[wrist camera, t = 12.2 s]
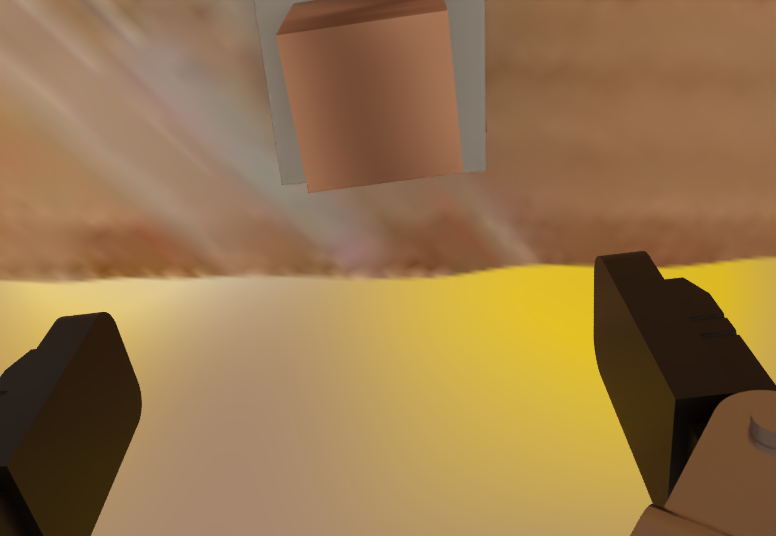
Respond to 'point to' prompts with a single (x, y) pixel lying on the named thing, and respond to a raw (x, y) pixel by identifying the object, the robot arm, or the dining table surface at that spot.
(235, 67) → the dining table surface
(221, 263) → the dining table surface
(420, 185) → the dining table surface
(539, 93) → the dining table surface
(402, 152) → the terracotta cube
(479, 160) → the tower top
